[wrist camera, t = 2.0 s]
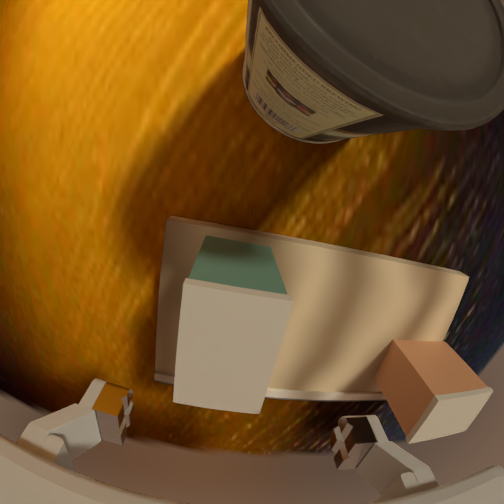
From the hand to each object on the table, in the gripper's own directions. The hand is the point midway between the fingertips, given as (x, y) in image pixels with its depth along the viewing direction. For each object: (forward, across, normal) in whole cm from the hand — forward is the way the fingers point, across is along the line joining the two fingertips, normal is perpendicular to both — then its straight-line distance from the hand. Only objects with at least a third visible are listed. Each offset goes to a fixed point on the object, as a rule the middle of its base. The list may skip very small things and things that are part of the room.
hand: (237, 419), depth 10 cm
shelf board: (+14, -7, +2) cm, 15 cm away
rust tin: (+12, -17, +5) cm, 22 cm away
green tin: (+12, +1, 0) cm, 12 cm away
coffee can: (+14, -2, -16) cm, 21 cm away
